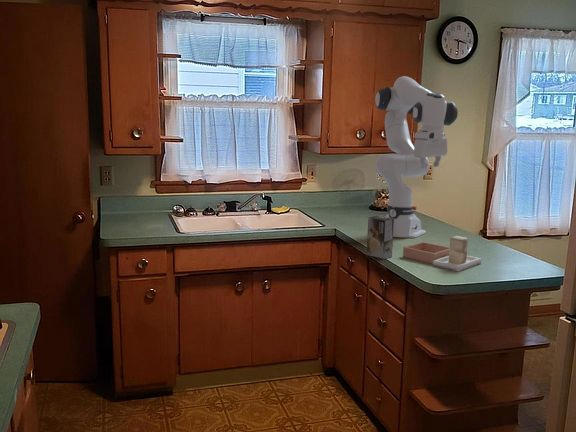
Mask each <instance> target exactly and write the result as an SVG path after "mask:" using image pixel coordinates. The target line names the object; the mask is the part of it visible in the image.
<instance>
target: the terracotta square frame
mask: <svg viewBox="0 0 576 432" xmlns="http://www.w3.org/2000/svg"><path fill="white" fill-rule="evenodd" d="M449 248H450V246H445V245H440V244H435V243H431V242H426V241H421V242H417V243H412V244H410V245H406V246H403V250H402V251H403V252H402V257H404V258H408V259H412V260H417V261H421V262H425V263H429V264H433V261H434V260H437V259H440V258H443V257H446V256H449Z"/></svg>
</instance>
